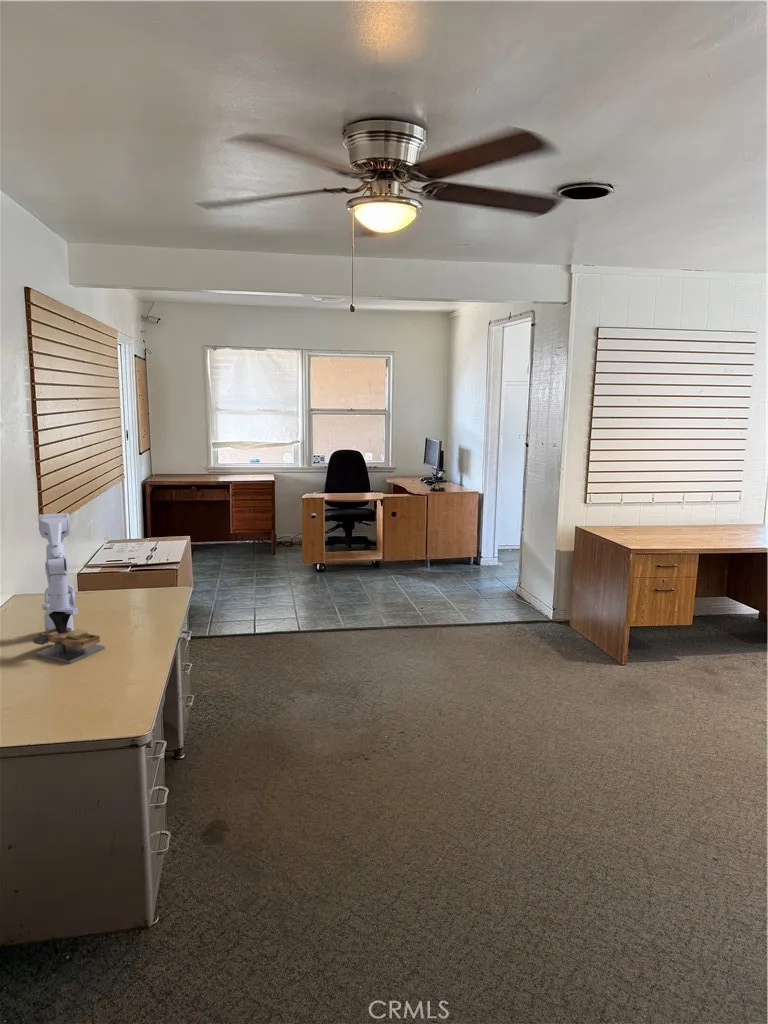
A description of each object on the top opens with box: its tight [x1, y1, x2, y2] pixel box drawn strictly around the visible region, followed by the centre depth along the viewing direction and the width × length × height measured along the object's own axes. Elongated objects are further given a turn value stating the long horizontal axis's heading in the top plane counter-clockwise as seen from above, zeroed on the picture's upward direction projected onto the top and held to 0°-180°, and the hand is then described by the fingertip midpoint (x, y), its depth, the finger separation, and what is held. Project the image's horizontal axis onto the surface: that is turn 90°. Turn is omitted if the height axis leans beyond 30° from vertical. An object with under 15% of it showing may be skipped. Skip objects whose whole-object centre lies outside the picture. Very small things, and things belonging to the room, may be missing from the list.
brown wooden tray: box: [32, 627, 101, 649], centre depth 218 cm, size 20×12×3 cm, turn 66°
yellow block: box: [66, 628, 89, 641], centre depth 216 cm, size 5×4×2 cm
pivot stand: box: [35, 643, 106, 664], centre depth 218 cm, size 16×14×5 cm
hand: (61, 632), depth 219 cm, fingers closed
